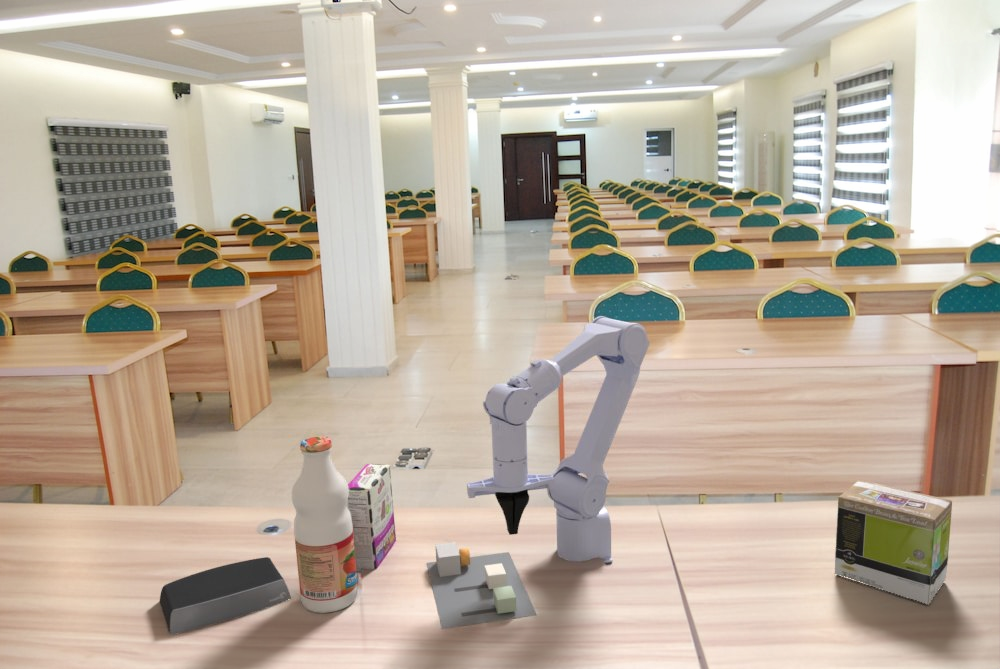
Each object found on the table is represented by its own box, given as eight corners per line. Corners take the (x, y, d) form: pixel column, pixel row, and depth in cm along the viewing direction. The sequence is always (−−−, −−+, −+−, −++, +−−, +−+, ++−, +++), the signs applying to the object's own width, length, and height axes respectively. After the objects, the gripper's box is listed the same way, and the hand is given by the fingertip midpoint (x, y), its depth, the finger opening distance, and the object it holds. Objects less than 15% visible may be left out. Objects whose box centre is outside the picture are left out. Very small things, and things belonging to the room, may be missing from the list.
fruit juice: (296, 592, 138) (280, 437, 131) (350, 579, 141) (337, 427, 135) (307, 620, 129) (291, 455, 123) (364, 605, 133) (352, 444, 127)
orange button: (467, 559, 144) (467, 545, 143) (470, 567, 141) (469, 552, 140) (459, 560, 143) (458, 546, 143) (461, 568, 141) (460, 553, 140)
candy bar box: (372, 543, 154) (366, 462, 150) (397, 545, 153) (391, 463, 149) (350, 573, 143) (342, 486, 140) (376, 575, 142) (370, 488, 139)
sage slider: (511, 599, 131) (511, 585, 130) (516, 611, 127) (516, 597, 127) (493, 601, 130) (492, 588, 130) (497, 613, 127) (497, 599, 126)
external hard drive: (293, 603, 135) (291, 581, 134) (170, 640, 126) (167, 616, 125) (273, 570, 146) (271, 549, 145) (159, 602, 137) (156, 580, 136)
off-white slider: (502, 576, 138) (501, 563, 137) (506, 586, 134) (506, 573, 134) (485, 578, 137) (484, 565, 137) (488, 589, 134) (488, 576, 133)
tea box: (946, 582, 134) (955, 499, 131) (928, 607, 127) (936, 520, 123) (853, 554, 144) (859, 476, 141) (832, 576, 137) (837, 495, 134)
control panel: (508, 557, 147) (508, 533, 146) (537, 620, 127) (536, 594, 126) (426, 567, 144) (425, 544, 143) (442, 634, 124) (440, 607, 123)
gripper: (547, 443, 138) (548, 516, 141) (463, 451, 136) (466, 526, 139) (557, 458, 132) (558, 535, 135) (469, 467, 129) (472, 544, 132)
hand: (512, 531), depth 136 cm, fingers closed
